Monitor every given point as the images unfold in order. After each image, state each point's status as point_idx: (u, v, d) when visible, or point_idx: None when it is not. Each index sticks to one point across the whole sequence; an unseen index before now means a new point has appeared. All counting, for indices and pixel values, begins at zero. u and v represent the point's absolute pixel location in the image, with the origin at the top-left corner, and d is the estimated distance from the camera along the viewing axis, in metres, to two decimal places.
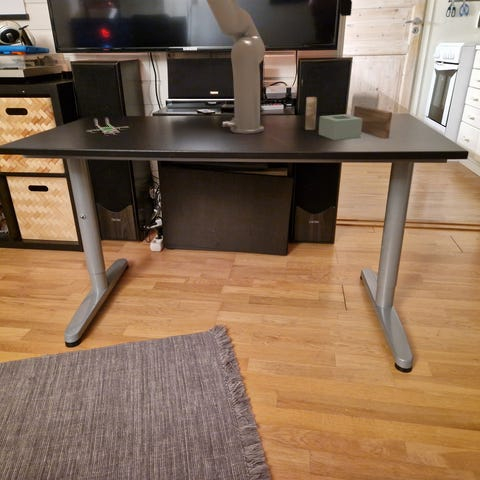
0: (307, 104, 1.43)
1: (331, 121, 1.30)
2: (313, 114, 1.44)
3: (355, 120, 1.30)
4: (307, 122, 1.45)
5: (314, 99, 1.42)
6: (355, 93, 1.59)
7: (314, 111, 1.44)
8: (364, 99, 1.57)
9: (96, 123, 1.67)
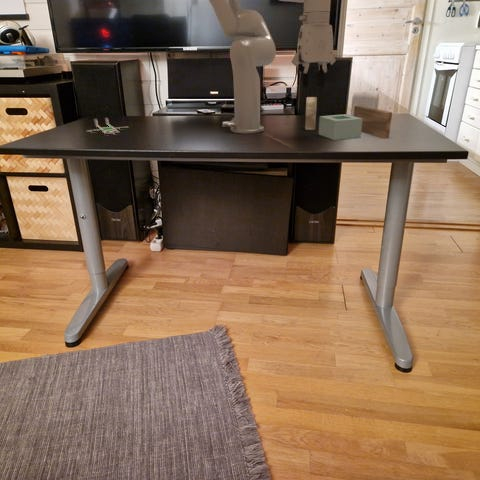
0: (307, 104, 1.43)
1: (331, 121, 1.30)
2: (313, 114, 1.44)
3: (355, 120, 1.30)
4: (307, 122, 1.45)
5: (314, 99, 1.42)
6: (355, 93, 1.59)
7: (314, 111, 1.44)
8: (364, 99, 1.57)
9: (96, 123, 1.67)
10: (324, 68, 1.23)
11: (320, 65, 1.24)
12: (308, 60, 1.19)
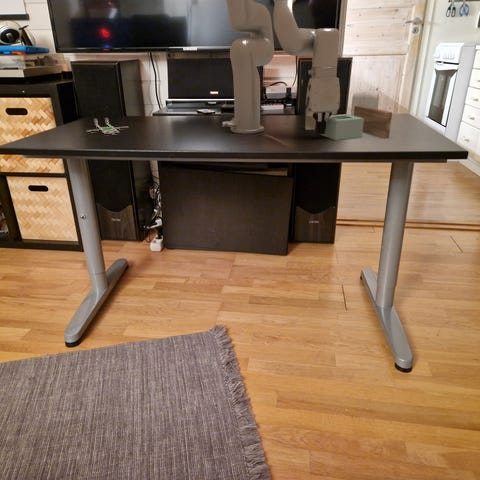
0: None
1: (332, 121, 1.30)
2: None
3: (357, 120, 1.30)
4: (307, 122, 1.45)
5: None
6: (355, 93, 1.59)
7: None
8: (364, 99, 1.57)
9: (96, 123, 1.67)
10: (326, 117, 1.30)
11: (323, 113, 1.31)
12: (316, 110, 1.26)
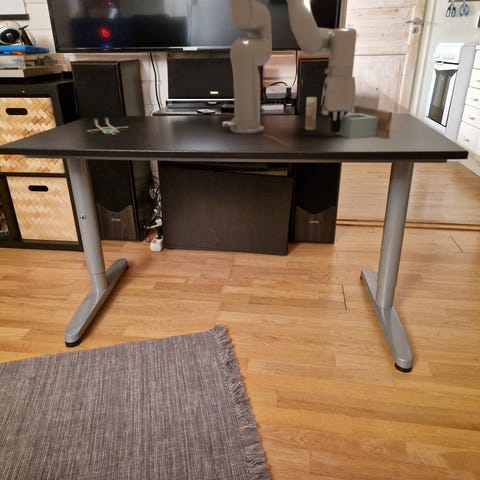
0: (307, 104, 1.43)
1: (347, 120, 1.31)
2: (313, 114, 1.44)
3: (371, 119, 1.31)
4: (307, 122, 1.45)
5: (314, 99, 1.42)
6: (355, 93, 1.59)
7: (314, 111, 1.44)
8: (364, 99, 1.57)
9: (96, 123, 1.67)
10: (341, 116, 1.31)
11: (338, 112, 1.33)
12: (332, 109, 1.28)
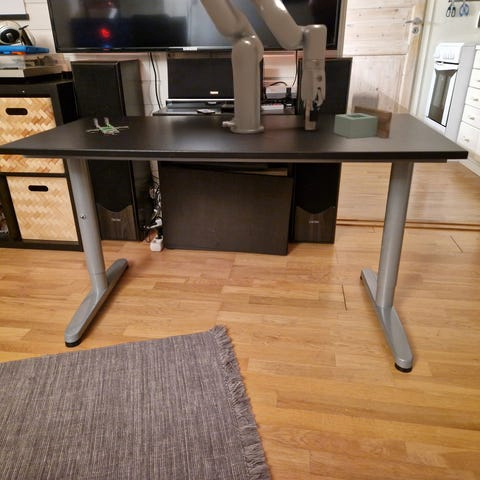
0: (307, 104, 1.43)
1: (347, 120, 1.31)
2: None
3: (371, 119, 1.31)
4: (307, 122, 1.45)
5: None
6: (355, 93, 1.59)
7: None
8: (364, 99, 1.57)
9: (96, 123, 1.67)
10: None
11: None
12: None
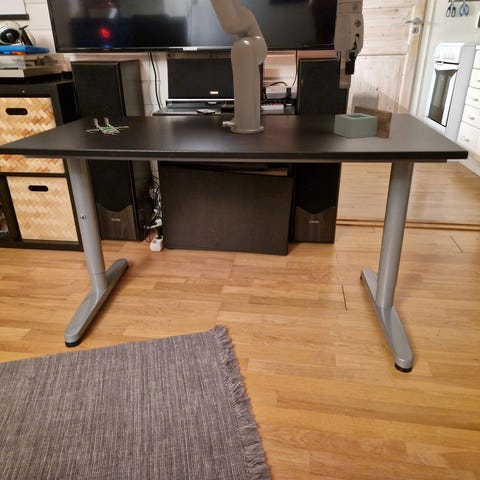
0: (342, 55, 1.29)
1: (347, 120, 1.31)
2: None
3: (371, 119, 1.31)
4: (342, 76, 1.32)
5: None
6: (355, 93, 1.59)
7: None
8: (364, 99, 1.57)
9: (96, 123, 1.67)
10: None
11: None
12: None
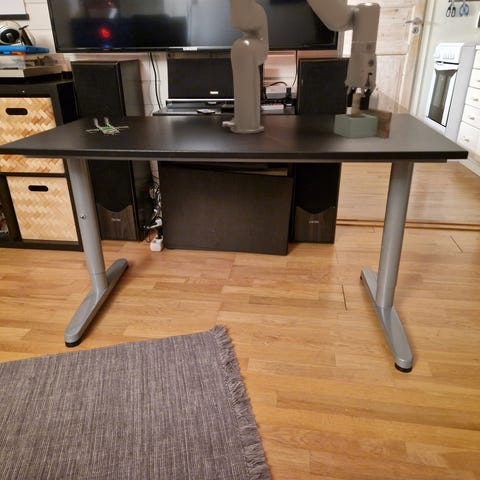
0: (354, 101, 1.32)
1: (347, 120, 1.31)
2: (360, 112, 1.33)
3: (371, 119, 1.31)
4: None
5: None
6: None
7: None
8: None
9: (96, 123, 1.67)
10: None
11: None
12: None
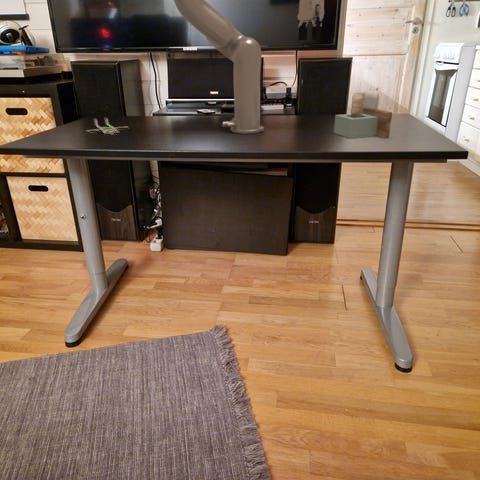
0: (354, 101, 1.32)
1: (347, 120, 1.31)
2: (360, 112, 1.33)
3: (371, 119, 1.31)
4: None
5: (362, 95, 1.30)
6: None
7: (361, 109, 1.32)
8: (364, 99, 1.57)
9: (96, 123, 1.67)
10: None
11: None
12: None
